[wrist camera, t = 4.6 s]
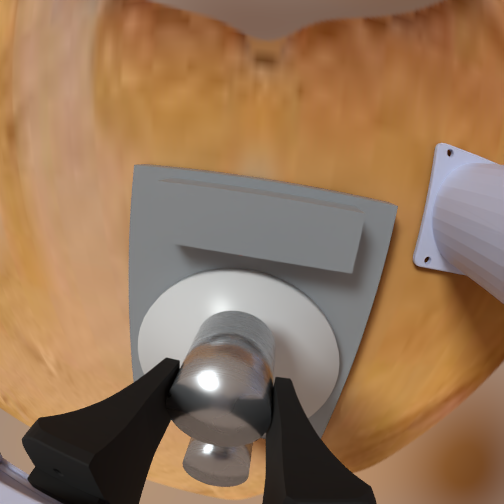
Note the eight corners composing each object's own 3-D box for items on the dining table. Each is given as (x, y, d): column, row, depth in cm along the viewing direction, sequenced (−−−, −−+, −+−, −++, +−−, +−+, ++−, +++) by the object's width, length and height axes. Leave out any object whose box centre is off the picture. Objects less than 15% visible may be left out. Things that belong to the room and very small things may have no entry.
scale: (388, 202, 18) (414, 213, 14) (317, 430, 23) (319, 466, 19) (145, 164, 18) (114, 166, 15) (143, 398, 24) (126, 429, 20)
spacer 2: (260, 403, 20) (253, 460, 15) (251, 438, 21) (244, 490, 16) (201, 392, 20) (182, 446, 15) (198, 428, 21) (182, 478, 16)
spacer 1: (277, 312, 15) (273, 380, 10) (274, 378, 16) (268, 450, 11) (193, 308, 15) (158, 369, 10) (199, 372, 16) (174, 439, 11)
